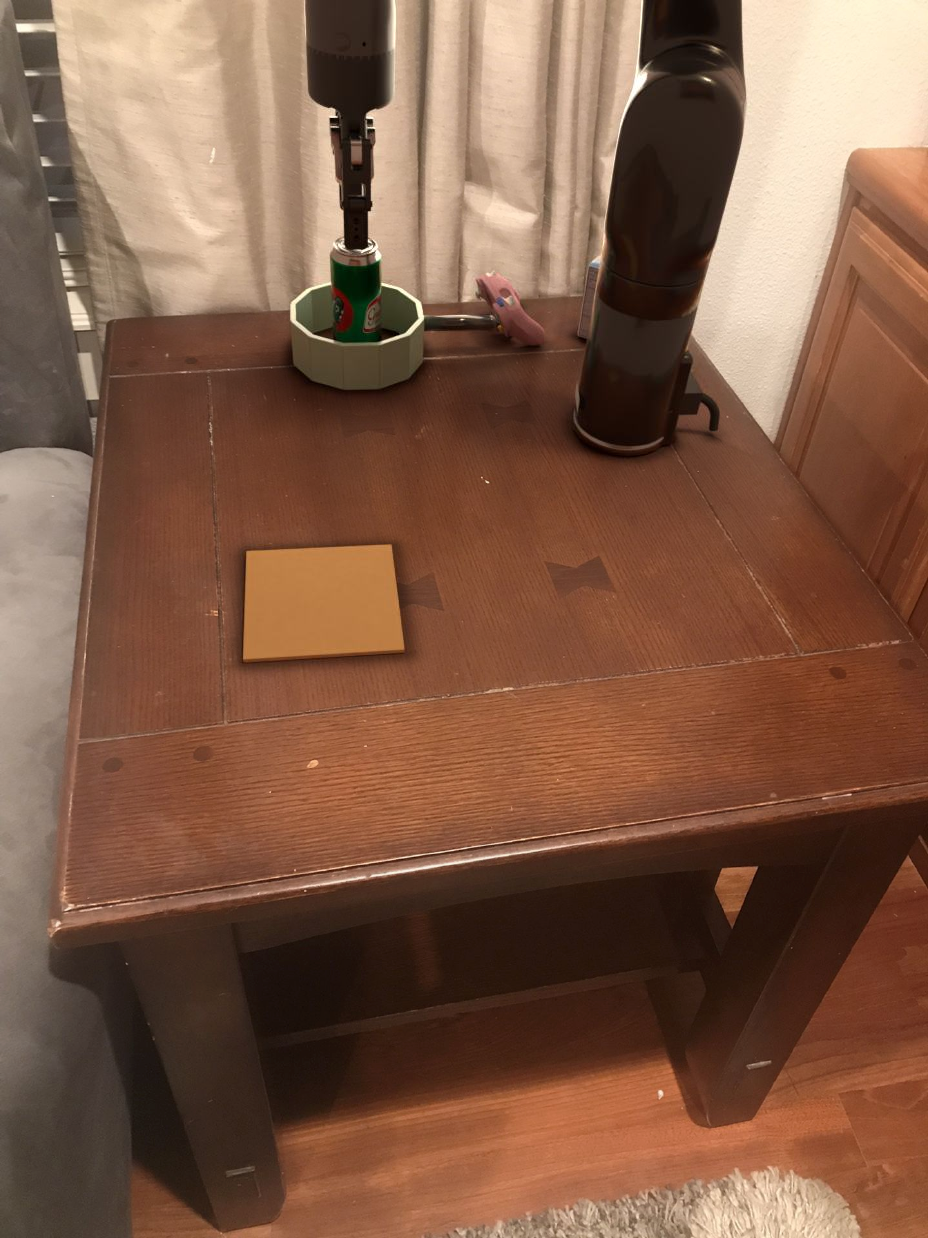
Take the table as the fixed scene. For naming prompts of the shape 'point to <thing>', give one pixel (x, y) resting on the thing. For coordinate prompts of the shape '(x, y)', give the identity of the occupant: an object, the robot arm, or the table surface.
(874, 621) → the table surface
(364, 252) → the soda can
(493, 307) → the video game controller
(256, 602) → the cork mat
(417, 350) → the pan
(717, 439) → the table surface
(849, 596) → the table surface
